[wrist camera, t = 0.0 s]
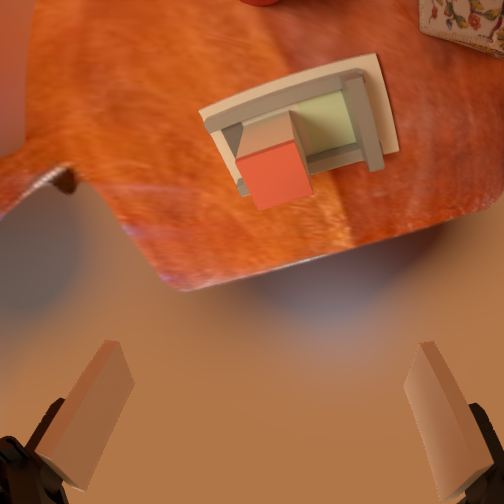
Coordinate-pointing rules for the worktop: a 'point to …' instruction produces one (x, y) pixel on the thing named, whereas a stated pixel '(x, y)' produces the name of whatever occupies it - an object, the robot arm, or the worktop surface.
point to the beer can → (259, 2)
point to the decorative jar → (465, 23)
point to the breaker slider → (273, 162)
